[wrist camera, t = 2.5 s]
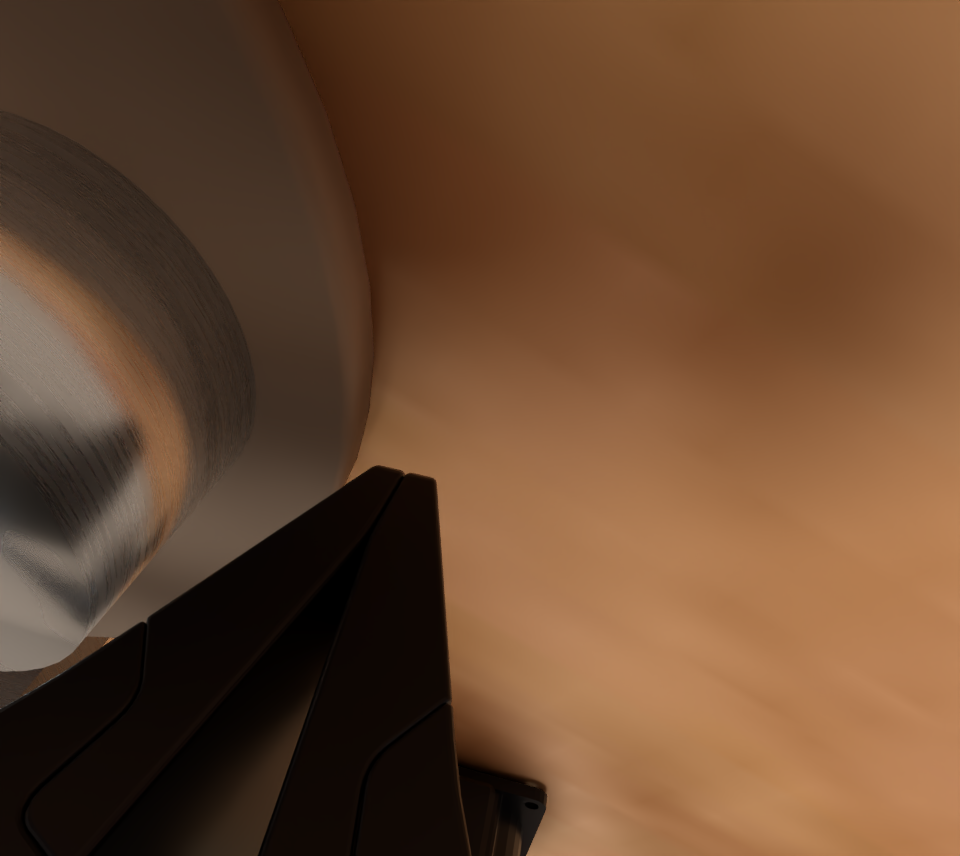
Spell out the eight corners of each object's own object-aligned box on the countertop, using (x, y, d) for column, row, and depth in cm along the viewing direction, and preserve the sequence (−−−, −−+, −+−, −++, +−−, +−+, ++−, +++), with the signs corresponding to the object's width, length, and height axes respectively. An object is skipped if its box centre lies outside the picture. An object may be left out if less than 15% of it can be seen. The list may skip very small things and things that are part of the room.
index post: (124, 619, 21) (-29, 806, 16) (81, 607, 21) (-82, 789, 16) (112, 589, 20) (-53, 779, 15) (68, 577, 20) (-110, 762, 15)
